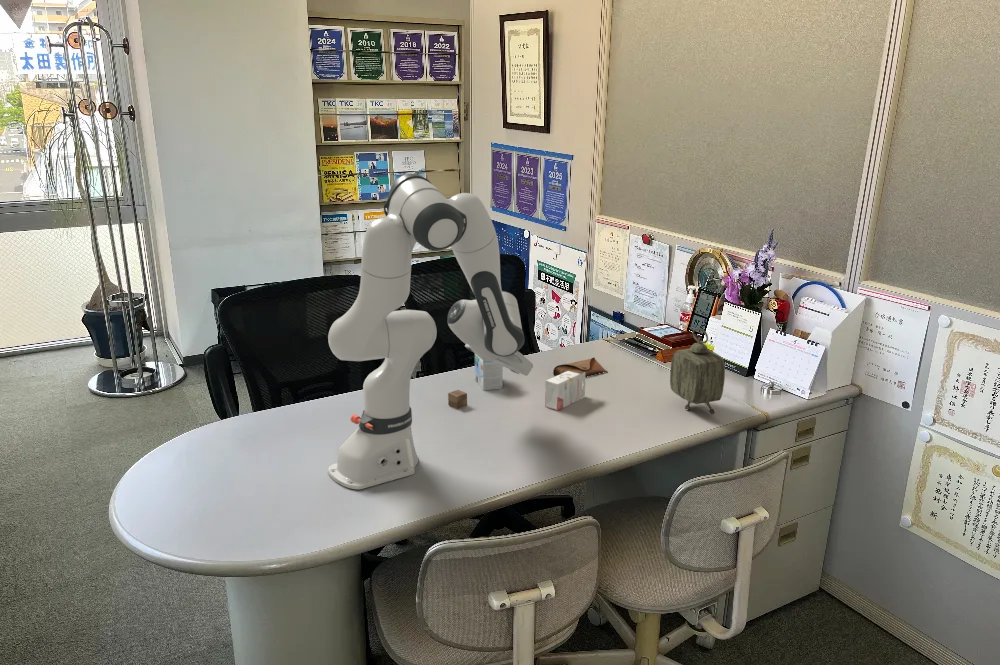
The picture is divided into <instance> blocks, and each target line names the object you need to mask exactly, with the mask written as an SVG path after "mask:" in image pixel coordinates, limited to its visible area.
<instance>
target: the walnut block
mask: <svg viewBox="0 0 1000 665" xmlns="http://www.w3.org/2000/svg"><path fill="white" fill-rule="evenodd" d="M447 398H448V399H447V401H448V404H447V406H448V405H449V407H451V408H454V409H455V410H459V409H462V408H464V407H467V406H468V393H467V392H466V391H463V390H460V389H457V390H456V389H455V390H453V391H450V392H448V393H447Z"/></svg>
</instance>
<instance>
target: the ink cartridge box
mask: <svg viewBox="0 0 1000 665" xmlns="http://www.w3.org/2000/svg"><path fill="white" fill-rule="evenodd" d="M544 395H545V398H544V399H545V401H544V402H545V404H544V406H545V408H549V409H551V410H554V411H560V410H562V409H563V408H566V407H568V406H570V405H572V404H574V403H576V402H577V401H580V399H583V398H584V397H585V395H586V377H585V372H584V373H582V374H579V373H575V372H571V371H566V372H564V373H562V374H560V375H557V376H554V377H550V378H549V379H546V380H545V394H544Z"/></svg>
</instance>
